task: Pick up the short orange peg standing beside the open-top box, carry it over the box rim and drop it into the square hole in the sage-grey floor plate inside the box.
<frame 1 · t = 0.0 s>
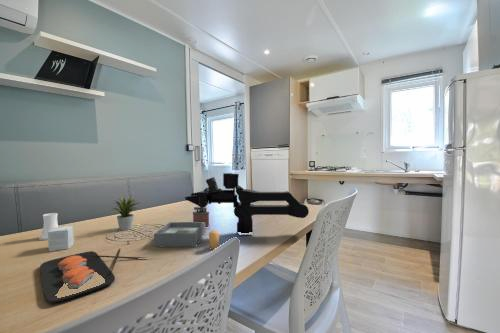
hand: (188, 196, 103), 17 cm above the table, tool horizontal, fingers open, 9 cm apart
peg: (214, 248, 87), on the table
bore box: (181, 239, 96), on the table
sushi plate: (106, 268, 73), on the table
product box: (61, 248, 88), on the table
lighter: (201, 227, 113), on the table
salt shaker: (51, 237, 99), on the table
house plant: (125, 229, 110), on the table
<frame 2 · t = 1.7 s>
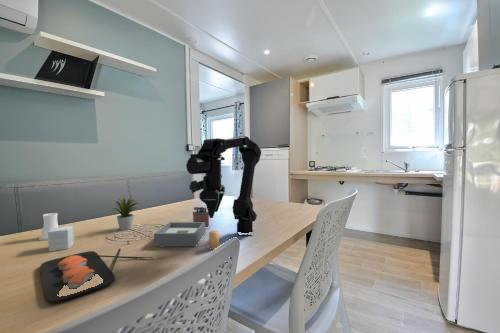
hand: (213, 214, 86), 13 cm above the table, tool pointing down, fingers open, 9 cm apart
nothing on the table moved.
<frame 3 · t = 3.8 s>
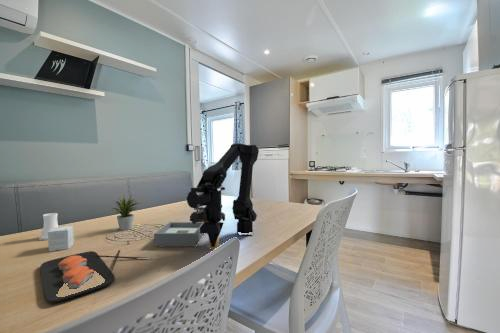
hand: (214, 244, 87), 1 cm above the table, tool pointing down, fingers closed on peg, 4 cm apart
peg: (214, 248, 87), on the table, touching gripper
everything else where it was.
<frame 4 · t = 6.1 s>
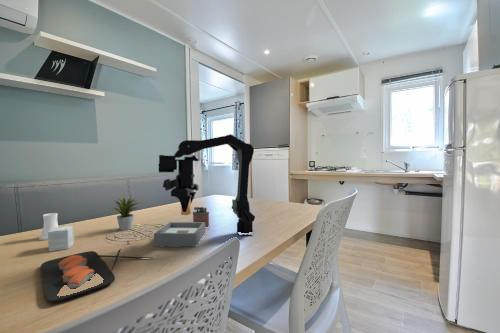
hand: (185, 210, 94), 12 cm above the table, tool pointing down, fingers closed on peg, 4 cm apart
peg: (185, 213, 94), point 11 cm above the table, touching gripper
everything else where it was.
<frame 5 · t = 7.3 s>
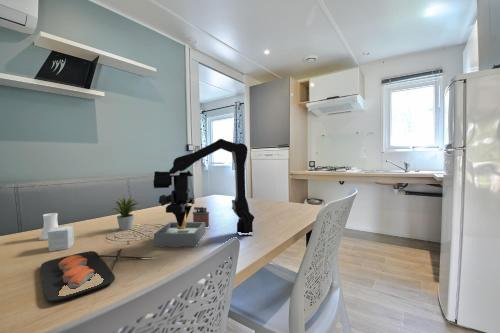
hand: (181, 225, 96), 6 cm above the table, tool pointing down, fingers closed on peg, 4 cm apart
peg: (181, 228, 96), point 5 cm above the table, touching gripper
everything else where it was.
when the fingers open (4 cm above the table, at t = 8.4 s): peg drops 3 cm, resting in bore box.
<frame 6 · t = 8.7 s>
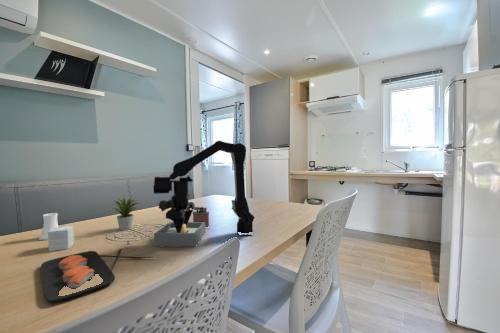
hand: (181, 230, 96), 4 cm above the table, tool pointing down, fingers open, 7 cm apart
peg: (181, 239, 96), resting in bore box
everything else where it was.
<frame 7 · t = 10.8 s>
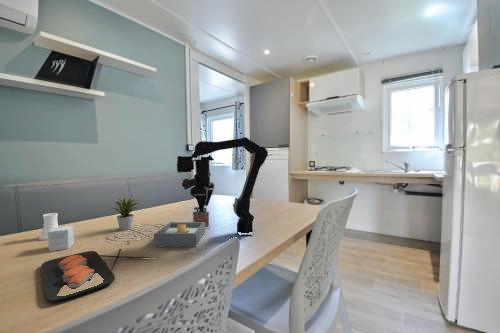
hand: (204, 208, 99), 12 cm above the table, tool pointing down, fingers open, 9 cm apart
nothing on the table moved.
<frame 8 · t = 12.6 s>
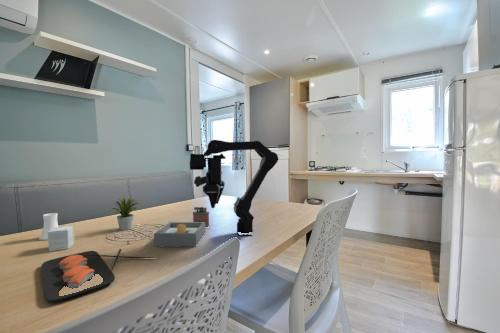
hand: (214, 205, 100), 13 cm above the table, tool pointing down, fingers open, 9 cm apart
nothing on the table moved.
at the end: peg 0.0 cm off-centre on the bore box, point 0.0 cm above the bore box's base; peg tilted 0°; the gripper is holding nothing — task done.
